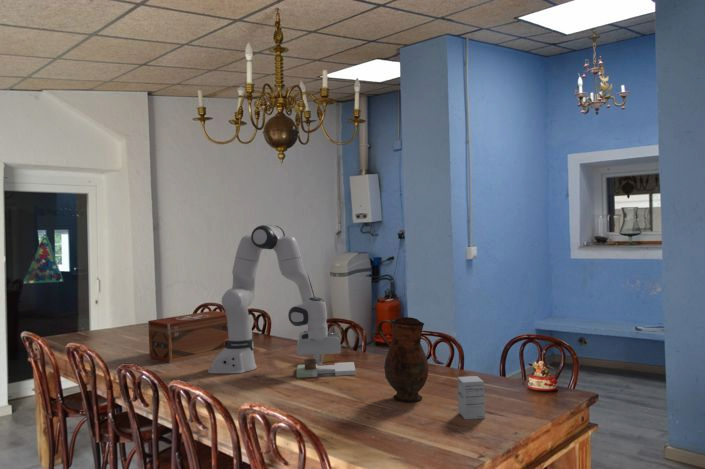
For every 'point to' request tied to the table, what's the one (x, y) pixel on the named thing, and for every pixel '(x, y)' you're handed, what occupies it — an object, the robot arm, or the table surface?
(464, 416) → the supplement box
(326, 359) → the small box
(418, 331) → the pitcher
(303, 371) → the trap lane
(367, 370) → the table surface
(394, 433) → the table surface
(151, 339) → the wooden box
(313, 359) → the walnut block
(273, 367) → the table surface
